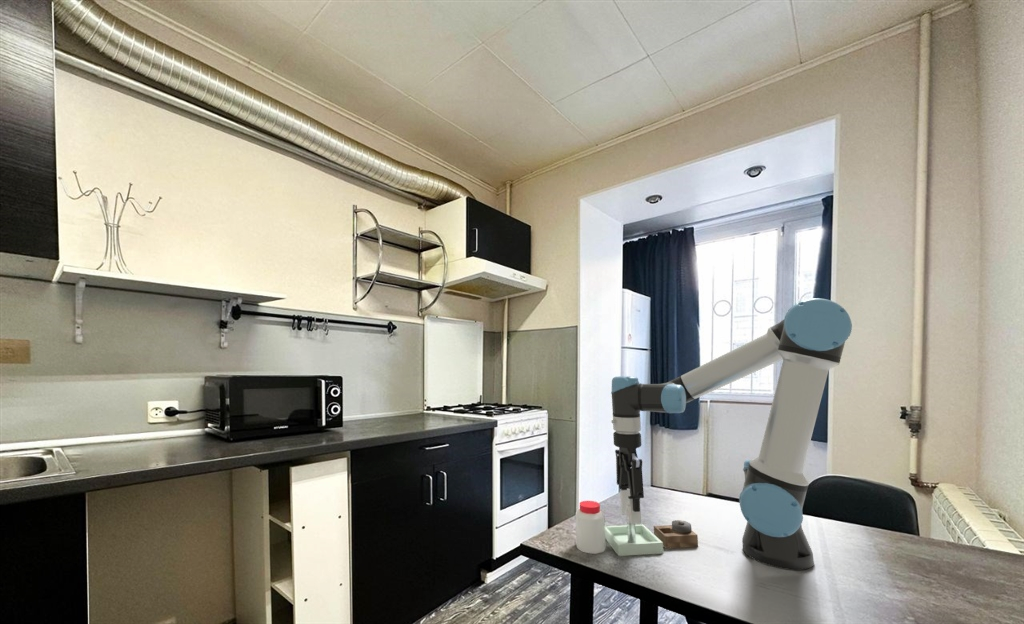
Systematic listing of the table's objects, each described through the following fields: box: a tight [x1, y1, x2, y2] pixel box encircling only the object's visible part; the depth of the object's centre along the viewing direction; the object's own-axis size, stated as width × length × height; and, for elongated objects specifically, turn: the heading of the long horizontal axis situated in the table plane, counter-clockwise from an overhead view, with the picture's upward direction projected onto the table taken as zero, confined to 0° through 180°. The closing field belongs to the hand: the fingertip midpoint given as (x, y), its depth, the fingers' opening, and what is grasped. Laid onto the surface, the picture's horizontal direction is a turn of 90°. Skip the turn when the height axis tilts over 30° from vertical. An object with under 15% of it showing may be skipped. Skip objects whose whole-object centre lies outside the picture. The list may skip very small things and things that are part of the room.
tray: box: [605, 523, 664, 557], centre depth 109 cm, size 12×12×3 cm
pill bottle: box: [575, 500, 607, 554], centre depth 108 cm, size 8×8×11 cm
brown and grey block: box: [653, 519, 699, 549], centre depth 110 cm, size 9×7×5 cm
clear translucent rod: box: [626, 503, 637, 543], centre depth 109 cm, size 2×2×10 cm
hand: (630, 518), depth 110 cm, fingers open, 6 cm apart
